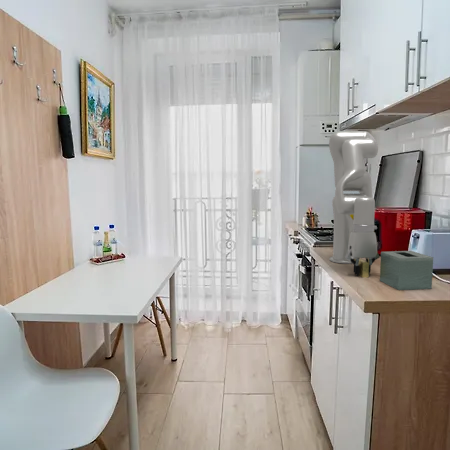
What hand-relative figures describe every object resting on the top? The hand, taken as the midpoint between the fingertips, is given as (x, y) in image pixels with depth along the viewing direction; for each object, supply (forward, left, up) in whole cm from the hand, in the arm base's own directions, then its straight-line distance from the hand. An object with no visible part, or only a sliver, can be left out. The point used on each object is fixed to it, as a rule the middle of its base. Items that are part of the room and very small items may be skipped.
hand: (361, 274), depth 138 cm
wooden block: (0, 0, -1) cm, 1 cm away
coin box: (+14, +9, 0) cm, 17 cm away
